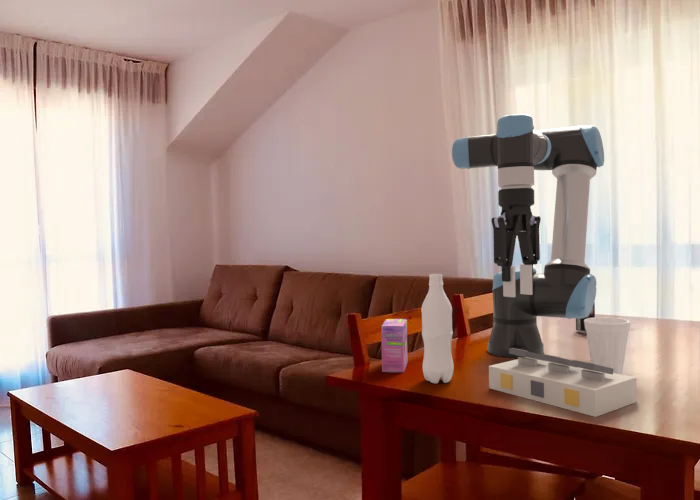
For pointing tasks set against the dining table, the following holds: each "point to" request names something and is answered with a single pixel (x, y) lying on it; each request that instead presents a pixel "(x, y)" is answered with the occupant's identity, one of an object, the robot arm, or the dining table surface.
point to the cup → (607, 341)
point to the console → (563, 385)
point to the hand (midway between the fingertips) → (518, 295)
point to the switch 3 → (592, 367)
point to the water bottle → (437, 332)
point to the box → (394, 345)
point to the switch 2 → (555, 359)
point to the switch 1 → (524, 353)
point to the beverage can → (580, 321)
